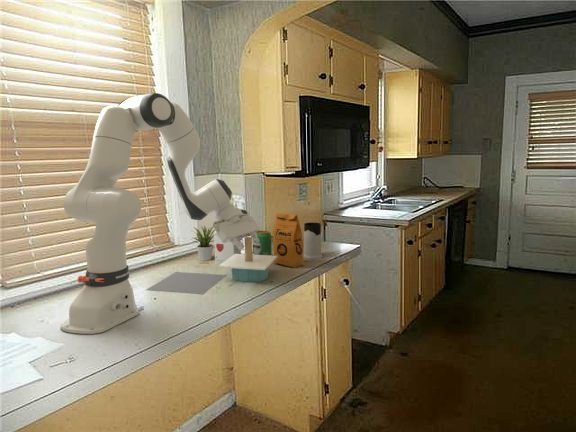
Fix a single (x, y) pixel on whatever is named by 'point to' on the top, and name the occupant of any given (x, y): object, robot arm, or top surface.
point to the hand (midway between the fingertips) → (249, 245)
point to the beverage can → (263, 243)
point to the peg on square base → (248, 259)
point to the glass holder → (312, 240)
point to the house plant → (204, 244)
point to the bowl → (249, 274)
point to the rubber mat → (187, 283)
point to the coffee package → (288, 240)
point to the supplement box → (224, 250)
